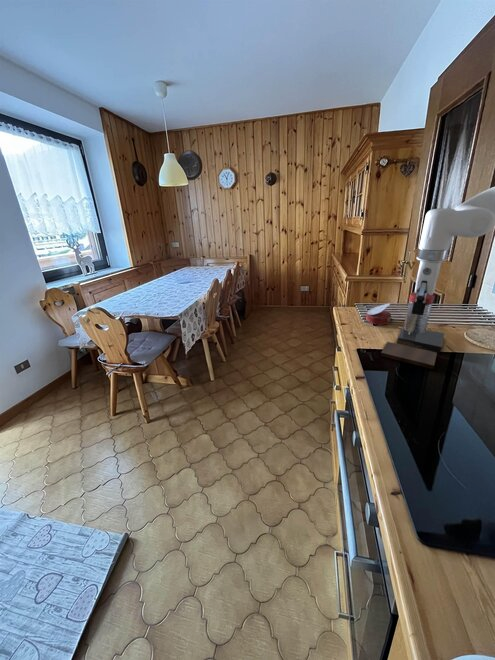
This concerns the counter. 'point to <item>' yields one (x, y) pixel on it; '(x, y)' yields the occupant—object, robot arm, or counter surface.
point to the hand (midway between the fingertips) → (418, 309)
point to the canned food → (378, 315)
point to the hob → (422, 340)
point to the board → (409, 355)
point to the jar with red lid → (418, 321)
